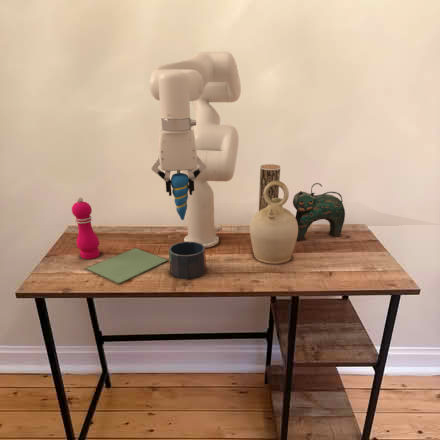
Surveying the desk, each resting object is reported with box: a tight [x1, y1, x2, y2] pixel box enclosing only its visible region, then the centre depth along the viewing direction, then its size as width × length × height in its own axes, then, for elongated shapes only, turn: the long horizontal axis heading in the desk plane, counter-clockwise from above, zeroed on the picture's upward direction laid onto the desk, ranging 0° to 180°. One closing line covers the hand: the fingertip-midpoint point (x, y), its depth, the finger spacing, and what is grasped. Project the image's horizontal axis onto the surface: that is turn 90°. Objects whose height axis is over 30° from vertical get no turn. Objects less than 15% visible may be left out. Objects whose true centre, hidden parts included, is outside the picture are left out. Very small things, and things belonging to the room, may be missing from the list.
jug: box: [249, 180, 298, 265], centre depth 128 cm, size 15×16×25 cm
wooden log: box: [258, 163, 281, 212], centre depth 145 cm, size 7×7×25 cm
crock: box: [168, 241, 207, 280], centre depth 124 cm, size 11×11×8 cm
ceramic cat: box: [292, 182, 346, 242], centre depth 144 cm, size 20×6×20 cm, turn 104°
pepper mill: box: [71, 196, 100, 260], centre depth 132 cm, size 7×7×20 cm
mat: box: [86, 247, 169, 285], centre depth 130 cm, size 20×16×1 cm
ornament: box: [170, 171, 189, 221], centre depth 115 cm, size 5×5×15 cm
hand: (180, 193), depth 114 cm, fingers closed on ornament, 5 cm apart
